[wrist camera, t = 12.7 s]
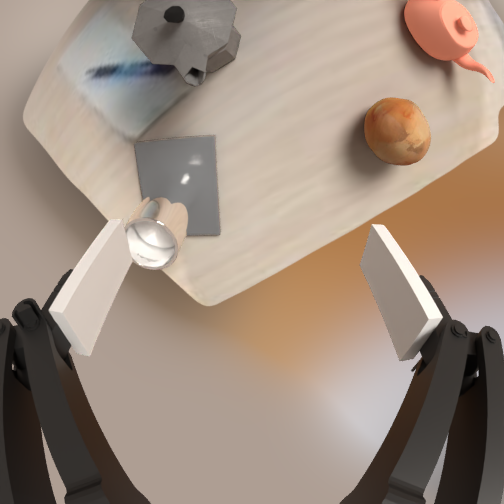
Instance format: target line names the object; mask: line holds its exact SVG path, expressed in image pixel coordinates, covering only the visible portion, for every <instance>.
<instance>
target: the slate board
mask: <svg viewBox="0 0 504 504" xmlns="http://www.w3.org/2000/svg"><path fill="white" fill-rule="evenodd" d="M134 145H135V153H136V160H137V167H138V173H139V179H140V185H141V191H142V196H143V200H144V199H145V198H147V197H148V196H149V195H151V194H152V193H154V192H155V191H157V190H158V189H159V186H160V183H161V181H162V180H163V179H164V177H166V176H167V175H168V174H171V173H174V172H182V173H185V174H188V175H189V176H191V177H192V178H193V179H194V180H195V182H196V184H197V186H198V197H197V200H196V201H195V203H194V204H193V205H192V206H191V207H190V221H189V228H188V231H187V235H220V233H221V227H220V212H219V196H218V178H217V159H216V138H215V135H203V136H188V137H176V138H166V139H157V140H148V141H140V142H136V143H135V144H134Z"/></svg>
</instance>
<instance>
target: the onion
mask: <svg viewBox="0 0 504 504" xmlns="http://www.w3.org/2000/svg"><path fill="white" fill-rule="evenodd" d="M364 132H365V138H366V141H367V144H368V145H369V147H370V148H371V150H372V151H373V152H374V153H375V155H376V156H377V157H378V158H379V159H381V160H382V161H384V162H386V163H390V164H394V165H410V164H413V163H416V162H418V161H419V160H421V159H422V158H423V157H424V155H425V154H426V153H427V151H428V149H429V146H430V141H431V134H430V128H429V124H428V122H427V120H426V118H425V116H424V115H423V114H422V112H421V110H420V109H419V107H418V106H417V105H416V104H414V103H413V102H412V101H410V100H406V99H399V98H385V99H382V100H380V101H378V102H377V103H375V104H374V105H373V106H372V107H371V108H370V109H369V111H368V112H367V114H366V117H365V124H364Z"/></svg>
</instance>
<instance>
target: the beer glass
mask: <svg viewBox="0 0 504 504" xmlns="http://www.w3.org/2000/svg"><path fill="white" fill-rule="evenodd" d="M197 197H198V186H197V184H196V182H195V180H194V179H193V178H192V177H191V176H189V175H188V174H185V173H182V172H174V173H171V174H168V175H167V176H166V177H164V179H163V180H162V181H161V183H160V186H159V189H158V190H157V191H155V192H154V193H152V194H151V195H149V196H148V197H147V198H145V199H144V200H143V201H142V202H141V203H140V204H139V205H138V207H137V208H136V209H135V211H134V212H133V214H132V215H131V217H130V219H129V220H128V222H127V224H126V226H125V227H124V228H125V232H126V236H127V241H128V245H129V248H130V252H131V256H132V260H133V262H134V263H135V264H137V265H139V266H141V267H143V268H146V269H151V270H158V269H163V268H166V267H168V266H169V265H171V264H172V263H173V262H174V261H175V259H176V257H177V254H178V252H179V250H180V248H181V246H182V244H183V242H184V240H185V237H186V235H187V231H188V228H189V221H190V207H191V206H192V205H193V204H194V203H195V201H196V200H197Z"/></svg>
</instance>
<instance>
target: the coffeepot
mask: <svg viewBox="0 0 504 504" xmlns="http://www.w3.org/2000/svg"><path fill="white" fill-rule="evenodd" d="M236 10H237V8H236V7H235V5H234V4H233V3H232V2H231V1H230V0H146V1H145V2H143V3H142V4H141V5H140V7H139V11H138V15H137V19H136V22H135V27H134V31H133V35H132V39H133V41H134V42H135V43H136V44H137V45H138V47H139V48H140V49H141V50H142V51H143V53H144V54H145V55H146V56H147V58H148V59H149V60H150V61H151V62H152V64H162V65H174V66H175V67H176V69H177V70H178V71H179V73H180V74H181V76H182V77H183V79H184V80H185V82H186V83H187V84H189V85H192V86H198V85H201V84H202V83H203V81H204V79H205V77H206V71H208V72H214V71H216V70H217V69H219V68H221V67H222V66H224V65H225V64H227V63H229V62H230V61H232V60H234V59H235V58H236V54H237V50H238V46H239V42H240V38H241V35H240V34H239V32H238V31H237V30H236V29H235V27H234V26H233V22H234V18H235V14H236Z"/></svg>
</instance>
